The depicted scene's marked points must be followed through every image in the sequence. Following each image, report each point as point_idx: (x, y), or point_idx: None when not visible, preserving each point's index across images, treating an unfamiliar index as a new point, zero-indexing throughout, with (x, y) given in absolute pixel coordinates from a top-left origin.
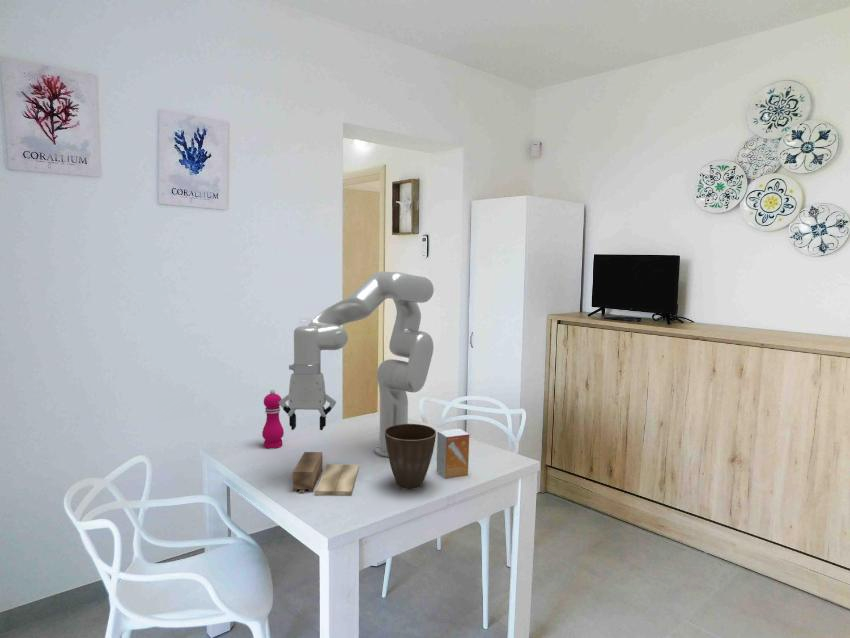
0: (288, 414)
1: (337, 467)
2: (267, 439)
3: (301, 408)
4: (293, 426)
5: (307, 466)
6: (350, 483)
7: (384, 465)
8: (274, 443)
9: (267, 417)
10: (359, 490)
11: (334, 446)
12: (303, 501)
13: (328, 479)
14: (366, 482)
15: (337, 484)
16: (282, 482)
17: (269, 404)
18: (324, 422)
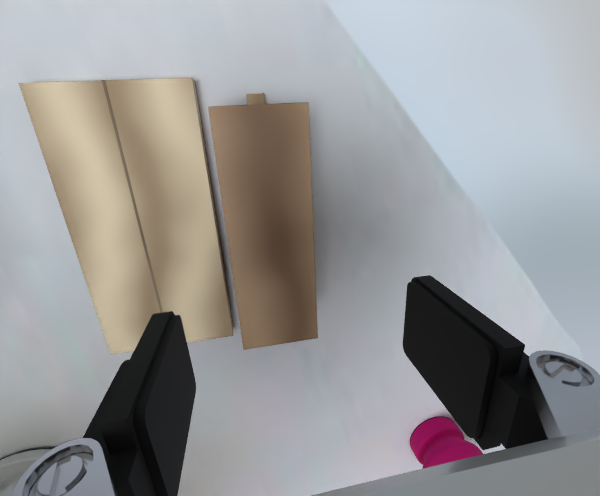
0: (577, 369)
1: (184, 316)
2: (461, 440)
3: (511, 463)
4: (426, 291)
5: (257, 179)
6: (65, 173)
7: (29, 386)
8: (434, 434)
9: None
10: (20, 146)
11: (262, 473)
12: (222, 10)
13: (178, 204)
14: (28, 230)
15: (119, 156)
16: (350, 191)
17: None
18: (113, 387)
